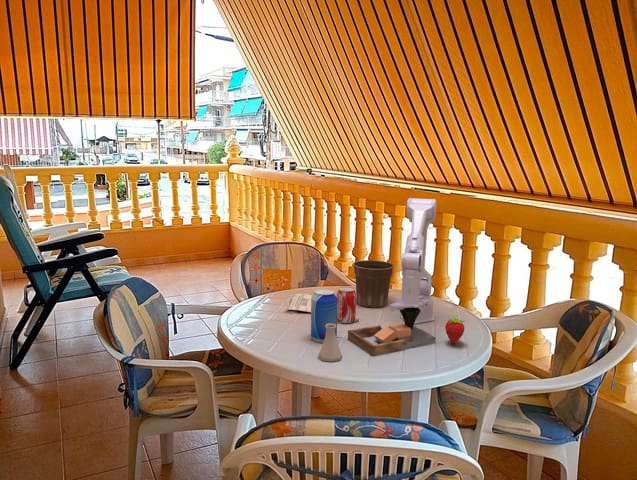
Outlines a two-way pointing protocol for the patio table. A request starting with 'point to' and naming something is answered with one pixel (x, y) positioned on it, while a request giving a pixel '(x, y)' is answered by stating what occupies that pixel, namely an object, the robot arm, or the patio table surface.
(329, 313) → the beer can
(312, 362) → the patio table surface
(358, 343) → the box
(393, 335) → the tile
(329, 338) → the flask
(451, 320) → the strawberry
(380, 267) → the plant pot
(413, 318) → the robot arm
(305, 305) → the newspaper
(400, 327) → the tile
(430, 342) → the grey plate
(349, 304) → the soda can
